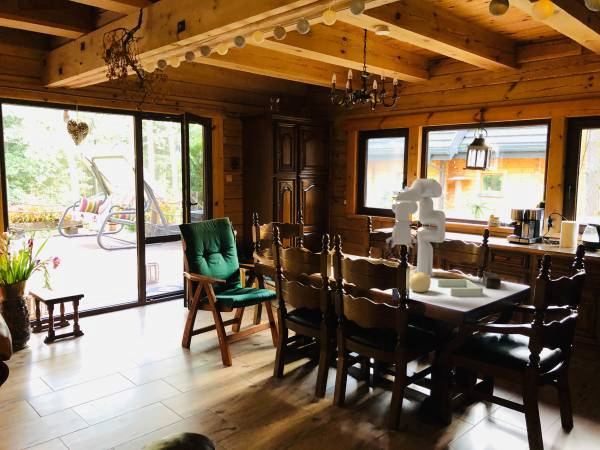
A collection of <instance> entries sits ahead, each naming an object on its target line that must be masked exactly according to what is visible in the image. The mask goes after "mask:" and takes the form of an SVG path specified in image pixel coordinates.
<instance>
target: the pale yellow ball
mask: <svg viewBox="0 0 600 450" xmlns="http://www.w3.org/2000/svg"><path fill="white" fill-rule="evenodd" d="M408 282H409V289H410V290H411V291H414V292H417V293H425V292H427V291H428V290H429V289H430V288H431V282H432V281H431V276H430V275H427V274H425V273H423V272H418V273H415V272H414V273H411V274H410V278H409V281H408Z"/></svg>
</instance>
